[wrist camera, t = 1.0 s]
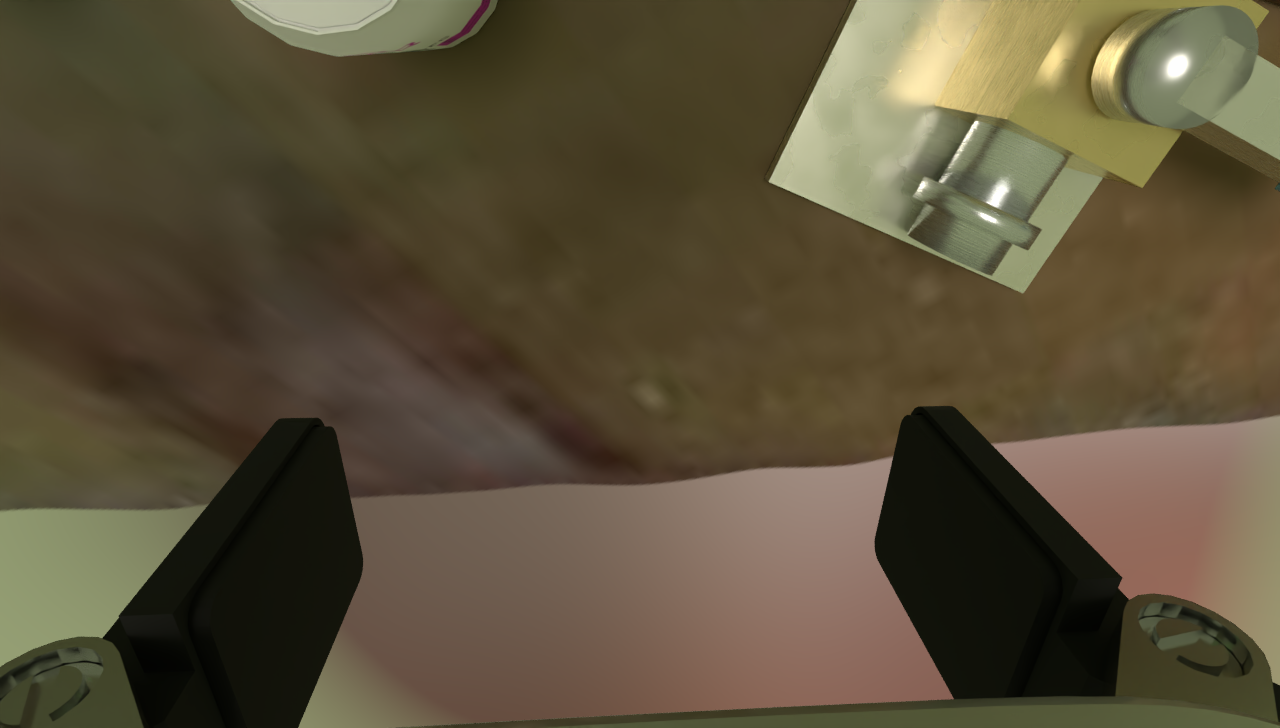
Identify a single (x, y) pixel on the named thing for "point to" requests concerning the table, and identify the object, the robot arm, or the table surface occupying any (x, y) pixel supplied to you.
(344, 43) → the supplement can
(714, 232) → the table surface
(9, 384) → the table surface
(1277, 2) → the religious icon
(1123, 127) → the valve
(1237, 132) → the lever
